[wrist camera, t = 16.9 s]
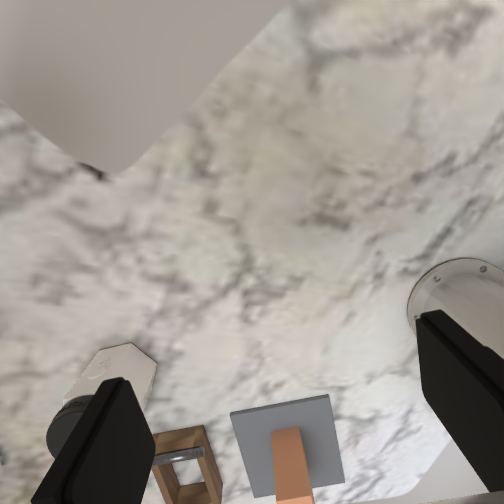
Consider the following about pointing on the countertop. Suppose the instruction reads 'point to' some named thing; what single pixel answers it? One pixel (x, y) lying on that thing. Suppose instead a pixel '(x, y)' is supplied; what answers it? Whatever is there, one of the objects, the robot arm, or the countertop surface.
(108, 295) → the countertop surface
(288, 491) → the orange block
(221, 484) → the dispenser
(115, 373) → the jar
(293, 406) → the mat
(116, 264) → the countertop surface
